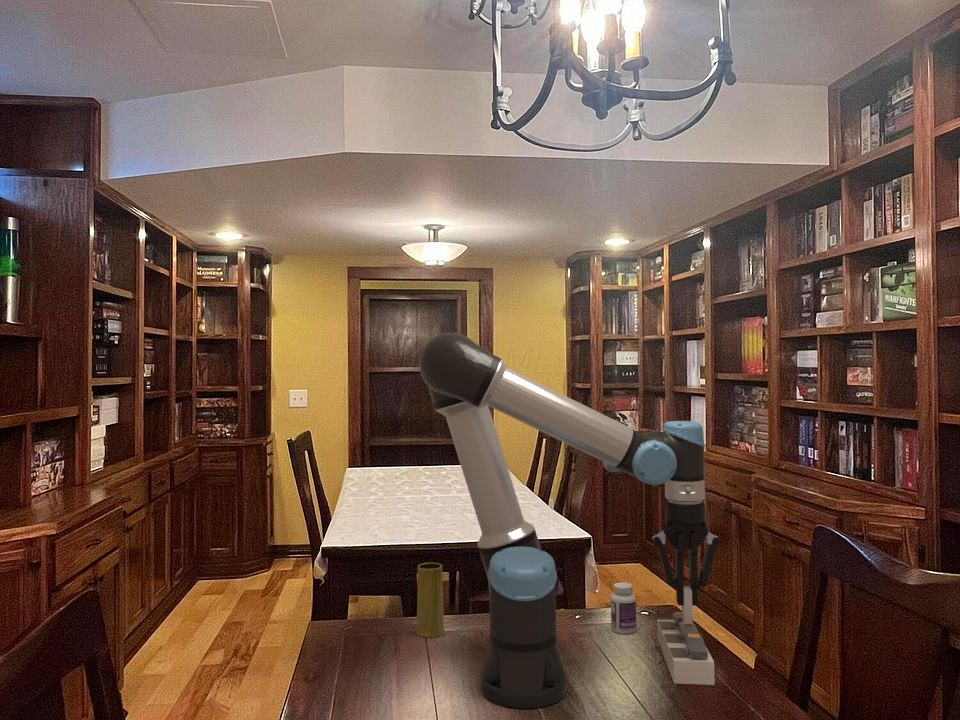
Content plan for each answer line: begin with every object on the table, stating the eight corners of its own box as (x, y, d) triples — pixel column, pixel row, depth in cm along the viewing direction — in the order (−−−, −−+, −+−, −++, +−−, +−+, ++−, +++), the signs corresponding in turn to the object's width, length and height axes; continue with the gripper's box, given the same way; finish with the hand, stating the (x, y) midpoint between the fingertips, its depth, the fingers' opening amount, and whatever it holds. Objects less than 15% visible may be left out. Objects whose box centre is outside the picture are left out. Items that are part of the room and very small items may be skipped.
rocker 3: (690, 657, 128) (690, 650, 128) (684, 639, 134) (684, 632, 134) (707, 658, 128) (707, 651, 128) (701, 639, 134) (701, 633, 133)
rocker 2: (683, 641, 135) (683, 634, 135) (678, 627, 141) (678, 621, 141) (700, 641, 135) (700, 634, 135) (693, 628, 141) (693, 621, 140)
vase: (413, 629, 155) (412, 563, 155) (440, 626, 157) (440, 560, 157) (419, 639, 149) (419, 570, 149) (448, 636, 151) (447, 568, 151)
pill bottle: (640, 628, 155) (639, 583, 155) (631, 636, 150) (630, 590, 150) (616, 624, 157) (615, 579, 158) (607, 631, 153) (606, 586, 153)
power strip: (674, 683, 128) (673, 656, 128) (657, 638, 149) (657, 616, 149) (714, 685, 127) (714, 658, 127) (692, 640, 148) (692, 617, 148)
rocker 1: (677, 624, 142) (677, 617, 142) (672, 618, 148) (672, 612, 148) (693, 624, 141) (692, 617, 142) (687, 619, 147) (687, 612, 148)
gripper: (653, 504, 137) (655, 628, 137) (723, 504, 136) (726, 629, 136) (648, 497, 145) (650, 614, 145) (715, 497, 143) (717, 615, 143)
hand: (687, 621), depth 140 cm, fingers closed
